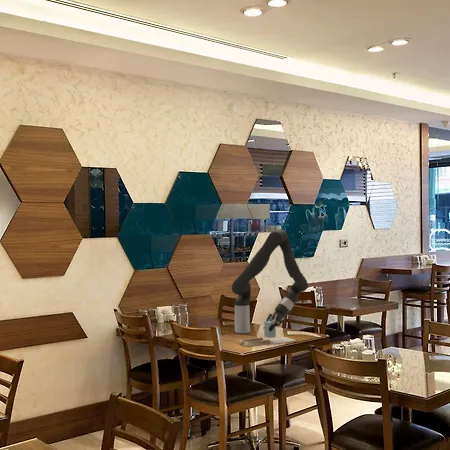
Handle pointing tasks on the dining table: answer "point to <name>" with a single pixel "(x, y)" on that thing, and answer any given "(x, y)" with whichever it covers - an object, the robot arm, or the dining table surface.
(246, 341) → the shelf lane
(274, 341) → the mat
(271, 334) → the slate block
